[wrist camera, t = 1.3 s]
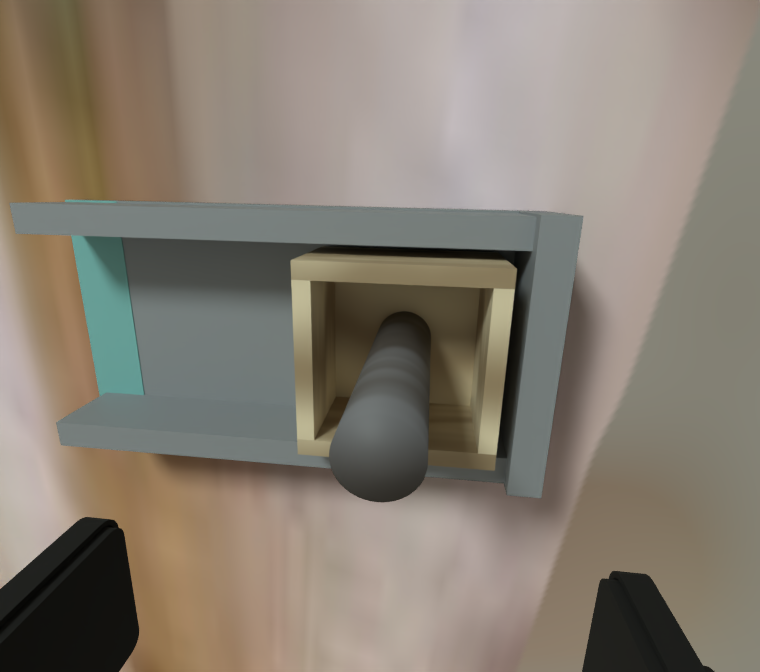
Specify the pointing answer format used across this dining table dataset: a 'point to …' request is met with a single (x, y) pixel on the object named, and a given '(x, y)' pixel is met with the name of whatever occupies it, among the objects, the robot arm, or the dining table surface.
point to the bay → (278, 320)
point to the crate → (399, 362)
